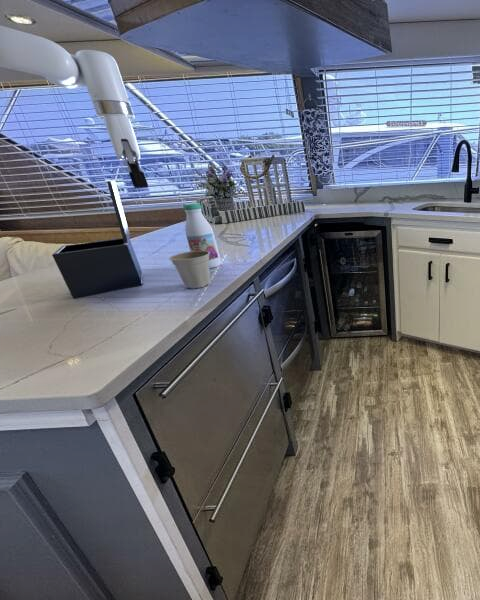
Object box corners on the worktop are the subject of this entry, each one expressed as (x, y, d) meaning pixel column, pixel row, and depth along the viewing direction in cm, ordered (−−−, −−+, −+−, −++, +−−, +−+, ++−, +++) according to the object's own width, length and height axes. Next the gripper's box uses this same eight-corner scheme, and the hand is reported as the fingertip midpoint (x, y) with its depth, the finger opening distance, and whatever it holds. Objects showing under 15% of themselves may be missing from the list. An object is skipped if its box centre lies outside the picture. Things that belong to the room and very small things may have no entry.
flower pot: (209, 277, 95) (201, 248, 92) (223, 283, 90) (215, 253, 86) (173, 286, 89) (163, 256, 85) (187, 294, 83) (176, 261, 80)
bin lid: (106, 181, 80) (110, 181, 81) (111, 180, 90) (114, 180, 90) (124, 243, 86) (128, 242, 86) (126, 235, 95) (130, 235, 96)
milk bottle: (199, 264, 109) (180, 203, 101) (224, 261, 111) (208, 201, 103) (193, 270, 102) (172, 206, 94) (219, 267, 104) (202, 204, 96)
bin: (73, 298, 83) (51, 254, 78) (81, 285, 92) (62, 245, 88) (142, 285, 91) (126, 244, 86) (143, 274, 100) (129, 237, 96)
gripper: (99, 115, 85) (126, 187, 93) (91, 106, 74) (122, 189, 81) (134, 115, 89) (157, 185, 97) (131, 107, 78) (158, 187, 85)
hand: (141, 187), depth 89 cm, fingers closed
